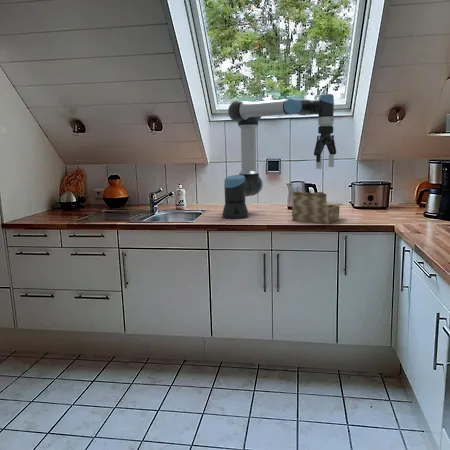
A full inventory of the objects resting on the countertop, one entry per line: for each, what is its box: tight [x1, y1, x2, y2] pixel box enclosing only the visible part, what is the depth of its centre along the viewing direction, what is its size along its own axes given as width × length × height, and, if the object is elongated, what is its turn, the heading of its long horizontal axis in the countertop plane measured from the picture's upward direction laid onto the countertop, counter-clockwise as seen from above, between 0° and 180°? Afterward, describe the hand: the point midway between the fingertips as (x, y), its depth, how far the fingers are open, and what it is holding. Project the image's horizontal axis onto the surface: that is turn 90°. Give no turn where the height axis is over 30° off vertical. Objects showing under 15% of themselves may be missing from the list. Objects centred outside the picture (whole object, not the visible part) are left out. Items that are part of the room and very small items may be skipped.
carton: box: [291, 201, 344, 225], centre depth 241 cm, size 22×19×8 cm
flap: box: [292, 191, 328, 208], centre depth 232 cm, size 19×1×7 cm, turn 51°
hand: (325, 167), depth 231 cm, fingers open, 13 cm apart
